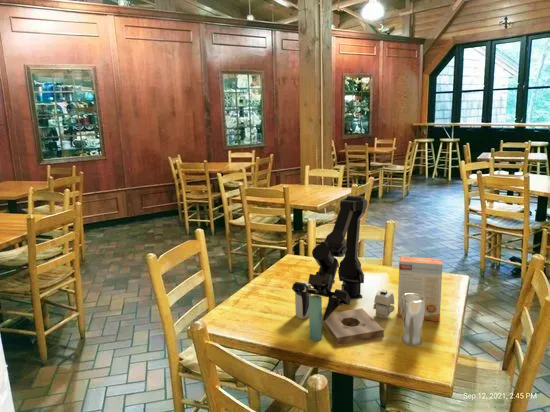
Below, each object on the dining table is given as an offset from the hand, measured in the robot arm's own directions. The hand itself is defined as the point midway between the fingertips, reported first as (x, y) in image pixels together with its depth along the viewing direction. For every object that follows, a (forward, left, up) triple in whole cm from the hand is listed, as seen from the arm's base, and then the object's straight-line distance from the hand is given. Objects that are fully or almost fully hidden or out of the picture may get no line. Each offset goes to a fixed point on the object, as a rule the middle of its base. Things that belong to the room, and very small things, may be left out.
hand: (313, 318), depth 138 cm
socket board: (-14, -3, -8) cm, 16 cm away
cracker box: (-40, -4, -8) cm, 41 cm away
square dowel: (-2, -17, -8) cm, 19 cm away
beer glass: (-29, +10, -8) cm, 32 cm away
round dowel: (-1, -1, -8) cm, 8 cm away
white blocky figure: (-28, -7, -8) cm, 30 cm away
